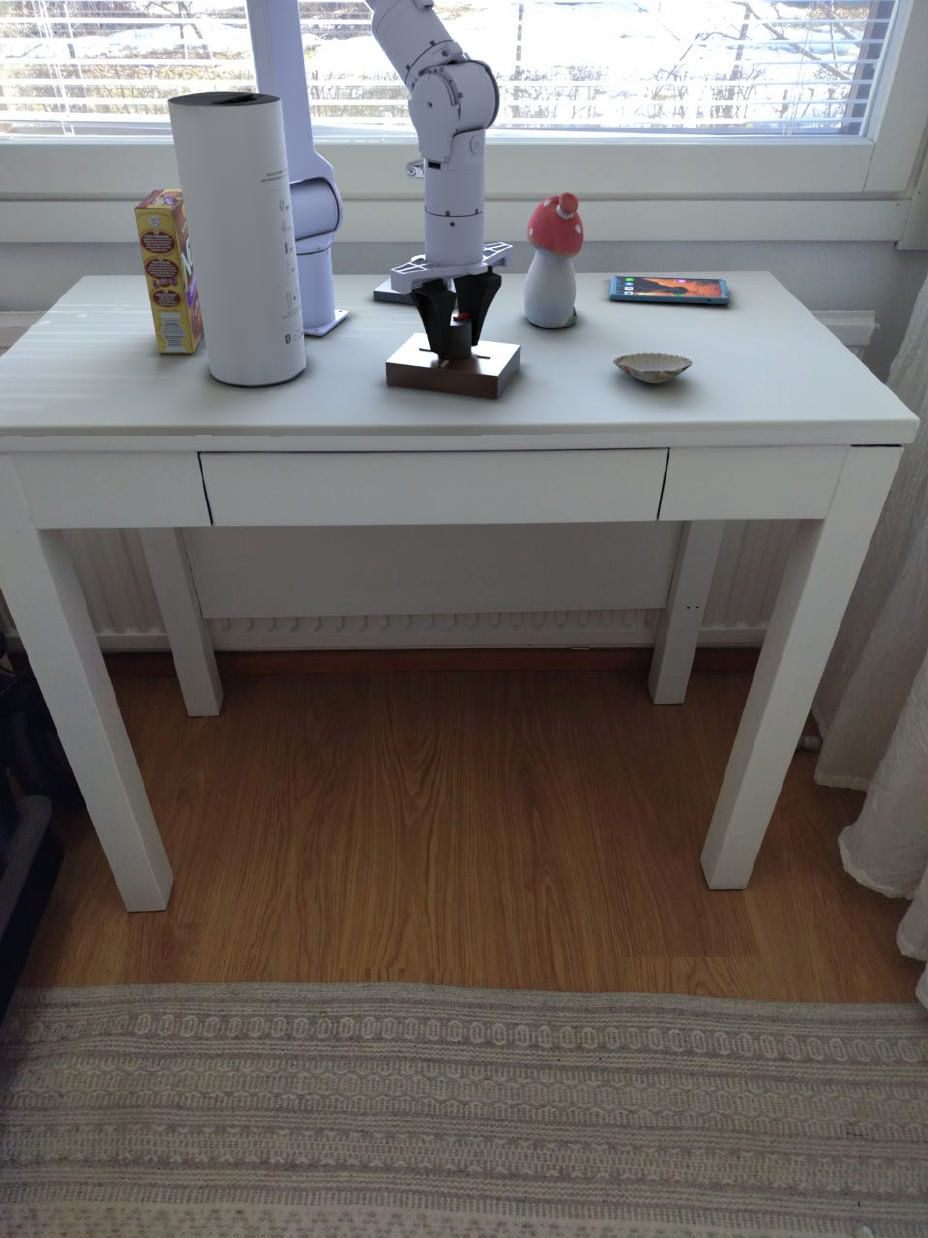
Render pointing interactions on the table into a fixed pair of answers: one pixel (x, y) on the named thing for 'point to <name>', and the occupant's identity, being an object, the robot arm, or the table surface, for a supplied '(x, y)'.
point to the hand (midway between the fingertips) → (454, 348)
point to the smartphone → (669, 290)
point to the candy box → (169, 271)
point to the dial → (460, 336)
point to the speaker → (241, 233)
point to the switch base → (390, 295)
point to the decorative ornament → (553, 262)
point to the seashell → (653, 366)
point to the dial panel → (454, 368)
